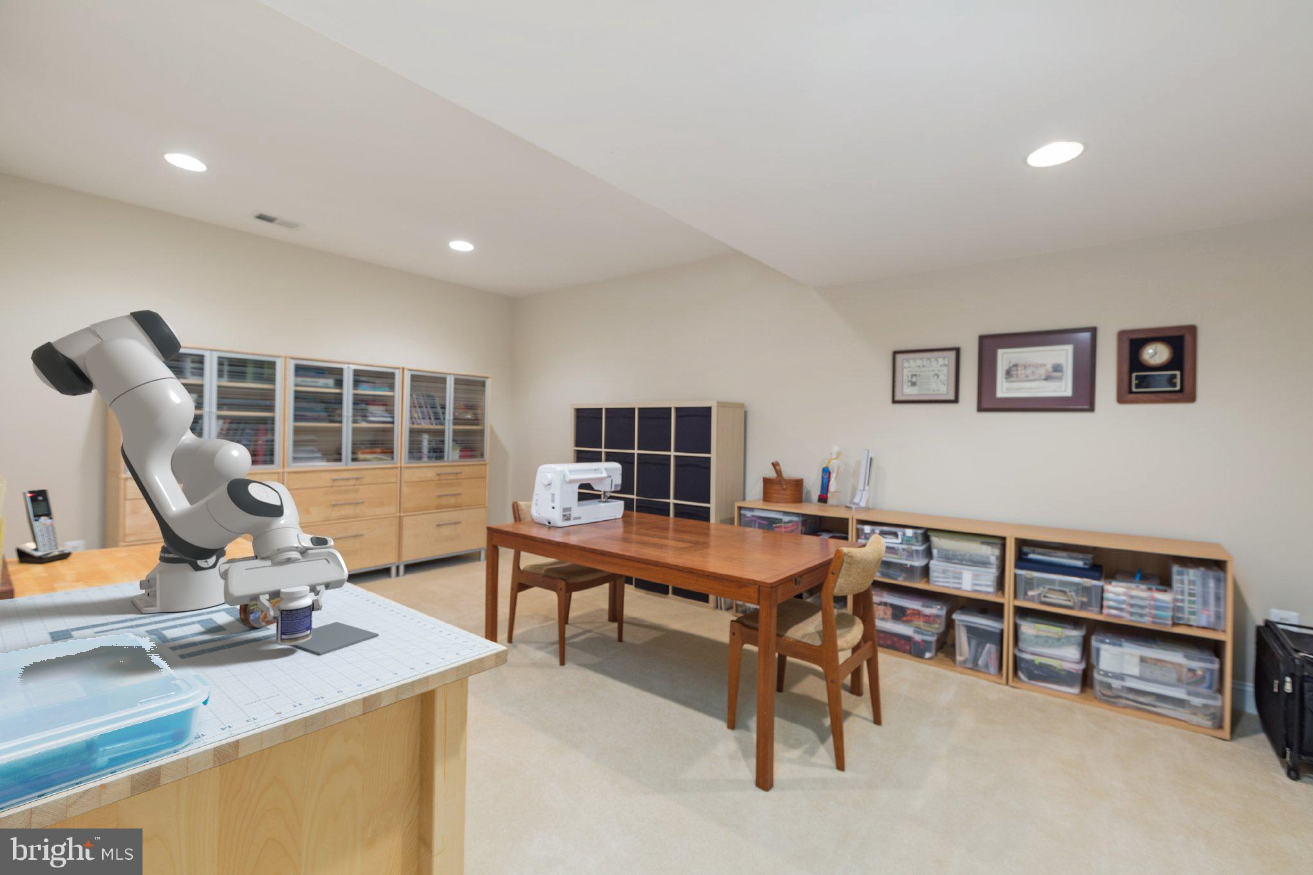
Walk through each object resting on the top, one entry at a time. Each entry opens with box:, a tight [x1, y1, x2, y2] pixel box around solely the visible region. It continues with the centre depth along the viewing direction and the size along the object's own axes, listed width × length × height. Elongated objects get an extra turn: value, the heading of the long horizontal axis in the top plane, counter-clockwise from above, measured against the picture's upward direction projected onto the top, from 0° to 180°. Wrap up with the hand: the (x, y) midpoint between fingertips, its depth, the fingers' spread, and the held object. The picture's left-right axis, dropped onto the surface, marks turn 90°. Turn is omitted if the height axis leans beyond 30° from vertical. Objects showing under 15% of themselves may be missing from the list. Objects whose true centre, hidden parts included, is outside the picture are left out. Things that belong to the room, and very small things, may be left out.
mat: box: [291, 621, 379, 656], centre depth 115 cm, size 14×12×1 cm
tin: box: [238, 598, 282, 629], centre depth 124 cm, size 15×3×8 cm, turn 168°
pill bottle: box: [275, 586, 313, 646], centre depth 108 cm, size 6×6×10 cm
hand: (296, 613), depth 107 cm, fingers closed on pill bottle, 6 cm apart
